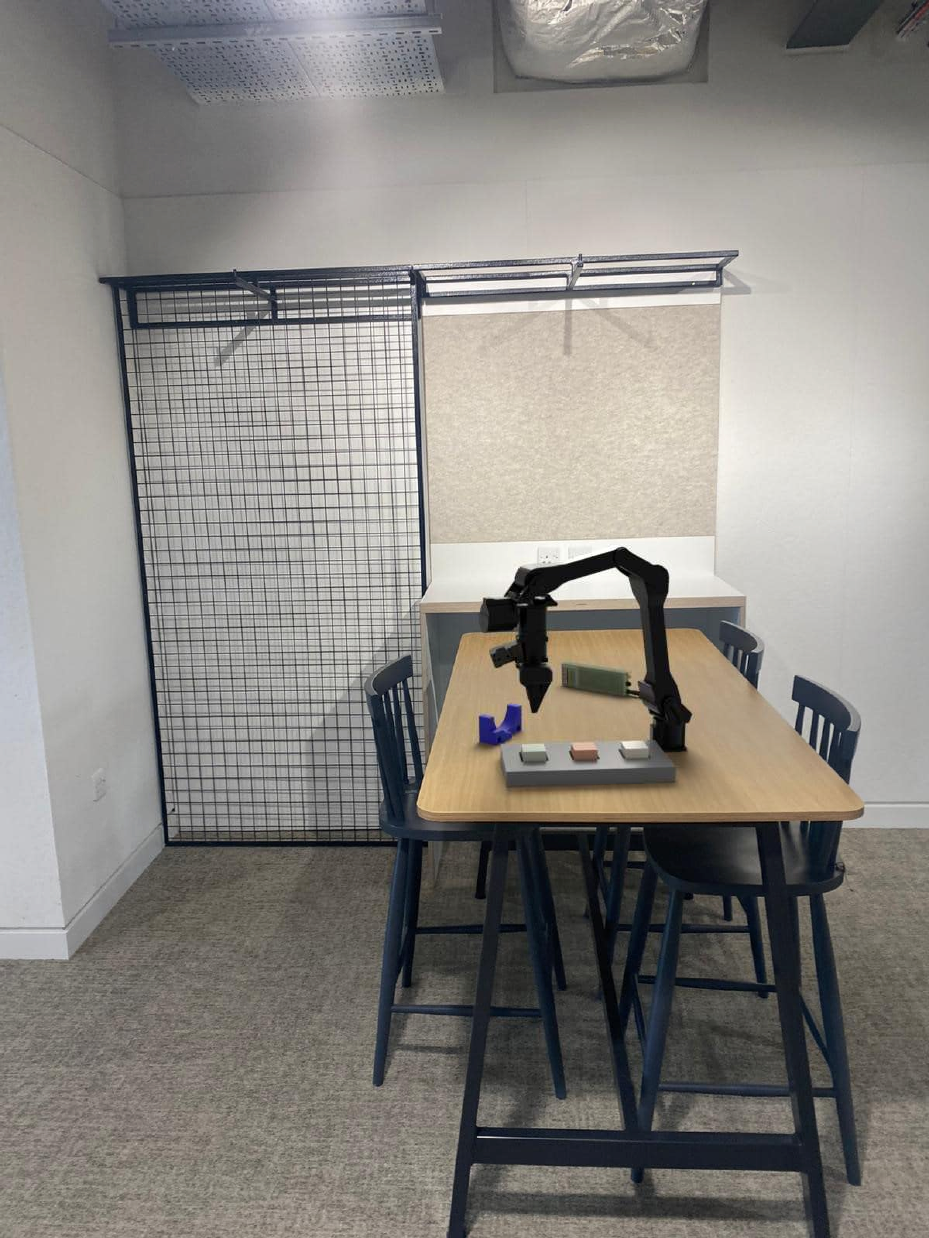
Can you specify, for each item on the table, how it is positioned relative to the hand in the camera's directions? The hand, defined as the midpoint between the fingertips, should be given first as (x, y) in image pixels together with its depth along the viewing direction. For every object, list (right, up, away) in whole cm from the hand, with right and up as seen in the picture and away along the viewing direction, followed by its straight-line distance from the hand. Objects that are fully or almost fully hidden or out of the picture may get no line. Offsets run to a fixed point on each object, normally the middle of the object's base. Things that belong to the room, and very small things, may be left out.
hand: (532, 706), depth 172 cm
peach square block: (+10, -10, -2) cm, 14 cm away
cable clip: (-5, -9, +20) cm, 23 cm away
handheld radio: (+23, -2, +56) cm, 60 cm away
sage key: (0, -10, -2) cm, 10 cm away
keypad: (+10, -12, -1) cm, 16 cm away
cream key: (+20, -9, -1) cm, 22 cm away
